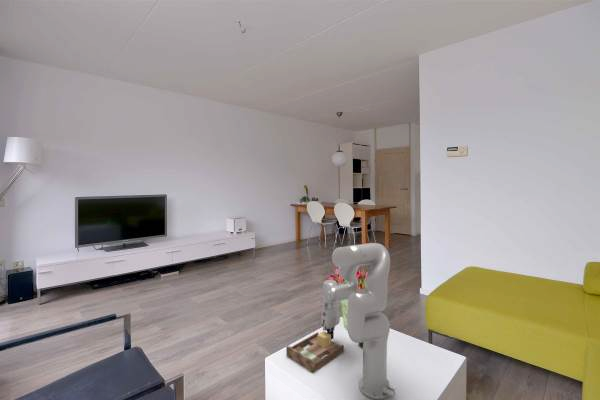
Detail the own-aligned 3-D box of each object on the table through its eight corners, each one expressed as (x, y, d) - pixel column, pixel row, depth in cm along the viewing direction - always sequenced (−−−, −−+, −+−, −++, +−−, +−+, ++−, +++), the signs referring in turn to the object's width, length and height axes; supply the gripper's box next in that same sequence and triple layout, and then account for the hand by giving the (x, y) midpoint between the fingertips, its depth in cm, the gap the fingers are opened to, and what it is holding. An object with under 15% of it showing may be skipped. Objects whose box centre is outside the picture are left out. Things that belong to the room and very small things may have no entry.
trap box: (343, 351, 142) (343, 342, 141) (313, 373, 126) (313, 362, 125) (317, 338, 154) (317, 329, 154) (286, 355, 138) (286, 346, 138)
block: (331, 344, 145) (331, 334, 145) (324, 348, 141) (324, 338, 141) (323, 340, 148) (323, 331, 148) (317, 344, 145) (317, 334, 145)
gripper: (326, 311, 139) (326, 346, 140) (344, 302, 150) (344, 335, 151) (315, 306, 145) (315, 340, 146) (333, 298, 155) (333, 330, 156)
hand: (330, 337), depth 148 cm, fingers closed
